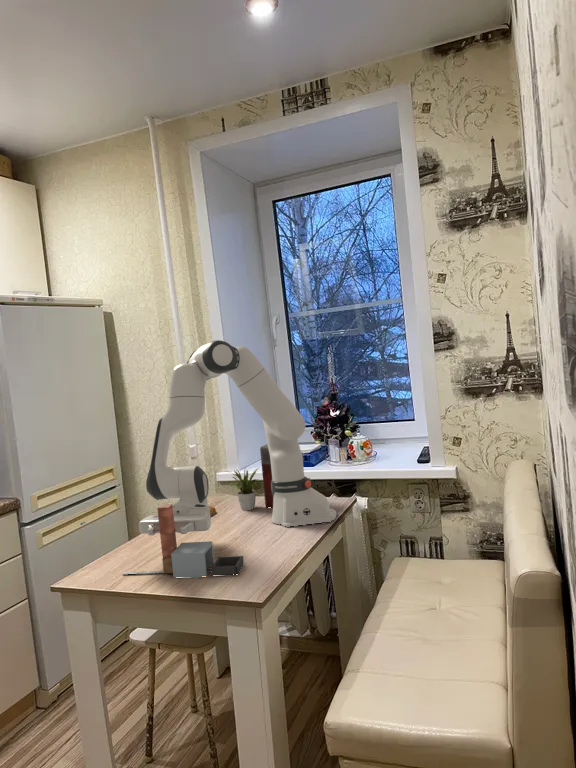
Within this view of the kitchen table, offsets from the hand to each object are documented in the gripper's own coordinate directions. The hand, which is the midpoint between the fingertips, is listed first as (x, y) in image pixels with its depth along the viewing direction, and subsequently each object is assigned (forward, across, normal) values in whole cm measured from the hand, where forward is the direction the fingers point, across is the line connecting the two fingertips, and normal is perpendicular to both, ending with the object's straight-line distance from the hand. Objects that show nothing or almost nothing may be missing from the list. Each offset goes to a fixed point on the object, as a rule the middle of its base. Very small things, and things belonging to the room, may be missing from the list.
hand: (166, 531), depth 165 cm
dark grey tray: (0, +16, +12) cm, 20 cm away
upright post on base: (0, +4, +11) cm, 11 cm away
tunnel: (0, +7, +12) cm, 13 cm away
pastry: (-56, -6, +12) cm, 57 cm away
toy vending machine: (-64, +22, +12) cm, 69 cm away
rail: (0, -1, +12) cm, 12 cm away
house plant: (-61, +8, +12) cm, 63 cm away
